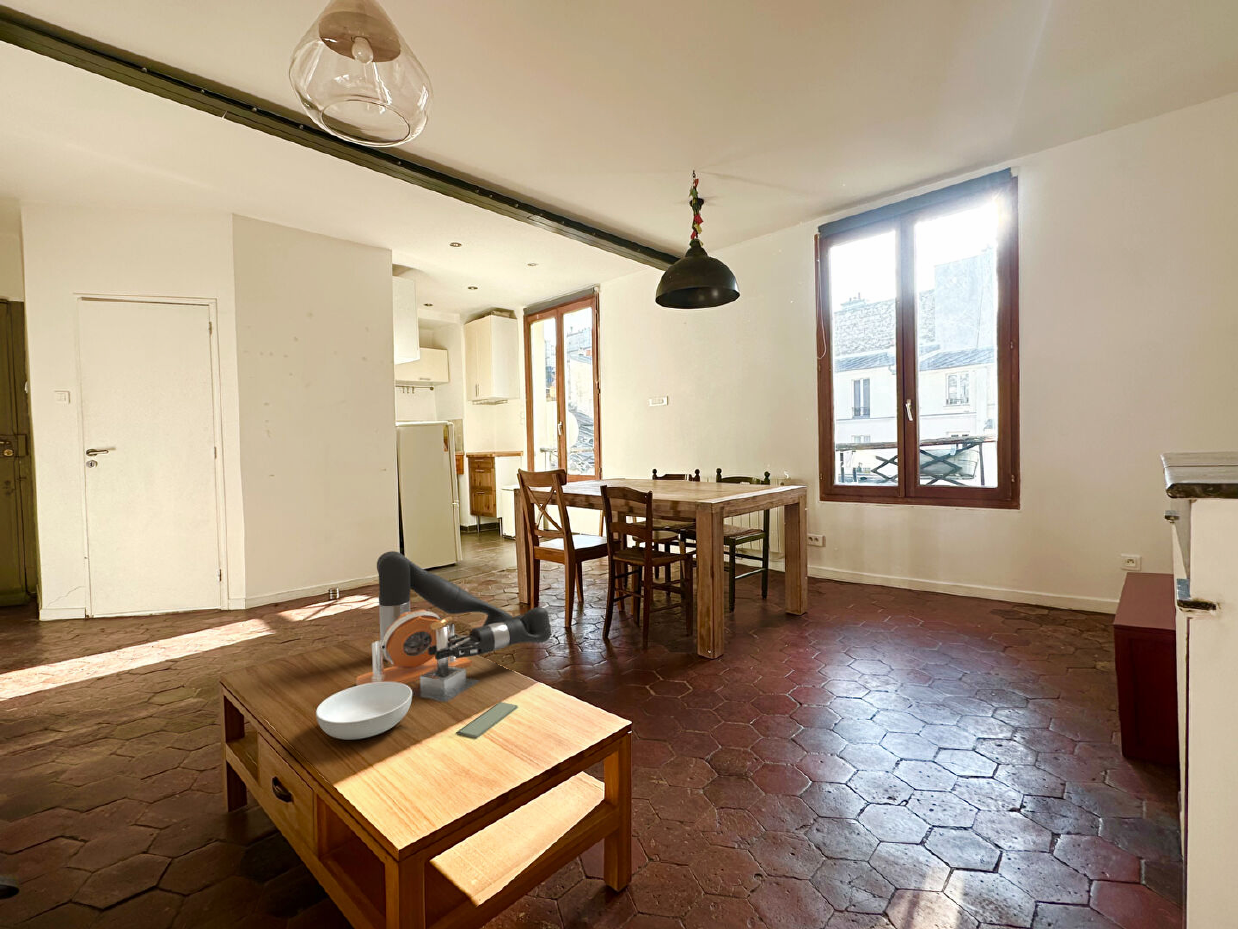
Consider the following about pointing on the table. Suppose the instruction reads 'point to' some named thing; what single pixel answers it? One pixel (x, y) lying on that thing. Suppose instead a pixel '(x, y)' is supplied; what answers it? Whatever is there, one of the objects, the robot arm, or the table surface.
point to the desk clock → (408, 650)
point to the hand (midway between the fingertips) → (432, 653)
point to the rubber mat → (487, 720)
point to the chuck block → (443, 684)
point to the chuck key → (442, 644)
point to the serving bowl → (364, 710)
